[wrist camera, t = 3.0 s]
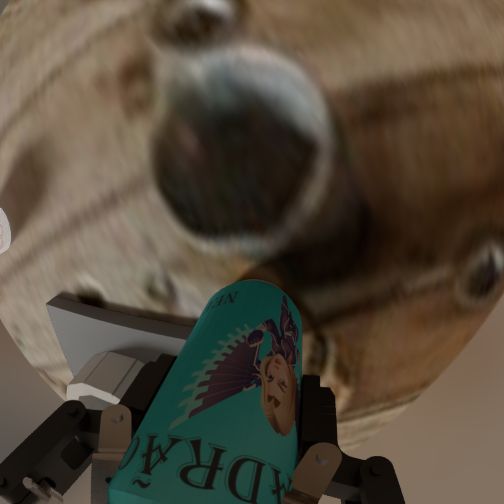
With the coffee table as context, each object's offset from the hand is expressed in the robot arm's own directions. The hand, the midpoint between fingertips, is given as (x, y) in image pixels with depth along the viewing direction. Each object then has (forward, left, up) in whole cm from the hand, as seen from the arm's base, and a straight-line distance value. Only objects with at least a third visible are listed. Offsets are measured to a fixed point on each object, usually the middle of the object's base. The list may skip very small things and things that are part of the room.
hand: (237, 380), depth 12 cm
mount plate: (+10, -10, -6) cm, 15 cm away
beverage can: (0, 0, -6) cm, 6 cm away
